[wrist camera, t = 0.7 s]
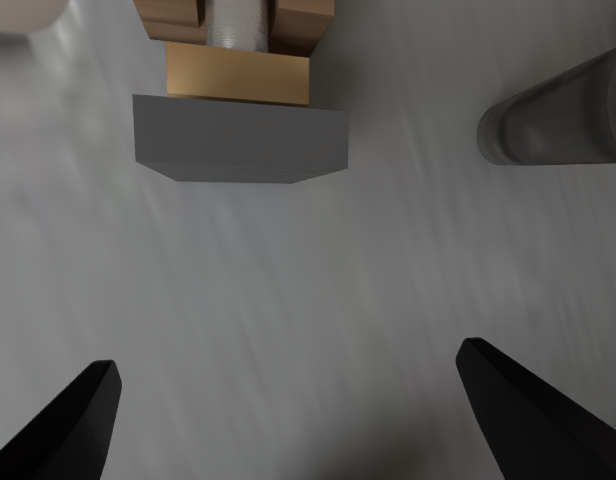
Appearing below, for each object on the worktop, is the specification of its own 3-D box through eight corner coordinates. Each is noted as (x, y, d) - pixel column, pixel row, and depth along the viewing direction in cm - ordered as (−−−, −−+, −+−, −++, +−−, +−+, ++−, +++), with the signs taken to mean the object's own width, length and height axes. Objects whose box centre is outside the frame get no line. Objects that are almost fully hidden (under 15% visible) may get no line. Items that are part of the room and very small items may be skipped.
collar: (284, 131, 21) (308, 104, 15) (183, 125, 20) (167, 92, 14) (284, 98, 21) (309, 58, 15) (181, 89, 19) (165, 41, 14)
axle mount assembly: (291, 183, 22) (347, 168, 12) (176, 181, 20) (135, 161, 10) (291, -43, 20) (355, -263, 11) (167, -66, 19) (110, -355, 9)
